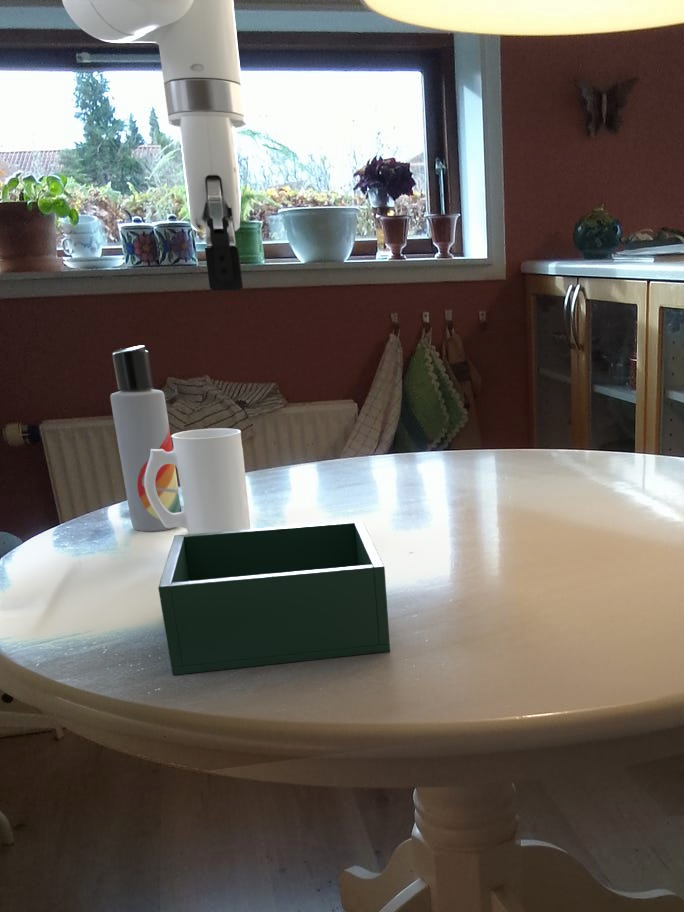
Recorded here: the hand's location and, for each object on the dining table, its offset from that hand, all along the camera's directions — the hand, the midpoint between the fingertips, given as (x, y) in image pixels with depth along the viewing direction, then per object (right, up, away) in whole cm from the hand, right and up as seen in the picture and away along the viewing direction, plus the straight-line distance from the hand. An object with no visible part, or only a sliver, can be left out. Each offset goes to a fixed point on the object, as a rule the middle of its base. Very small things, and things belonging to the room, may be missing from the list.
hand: (227, 289), depth 99 cm
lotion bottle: (-11, -24, +9) cm, 28 cm away
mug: (-2, -28, -2) cm, 28 cm away
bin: (+11, -37, -25) cm, 46 cm away
